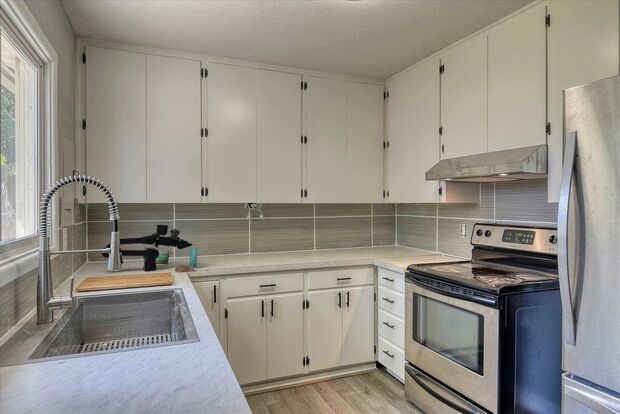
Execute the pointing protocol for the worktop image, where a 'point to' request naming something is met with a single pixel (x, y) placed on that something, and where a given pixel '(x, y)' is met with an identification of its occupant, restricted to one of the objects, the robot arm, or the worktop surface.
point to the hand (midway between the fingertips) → (190, 243)
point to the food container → (163, 257)
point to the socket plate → (184, 268)
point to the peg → (193, 257)
